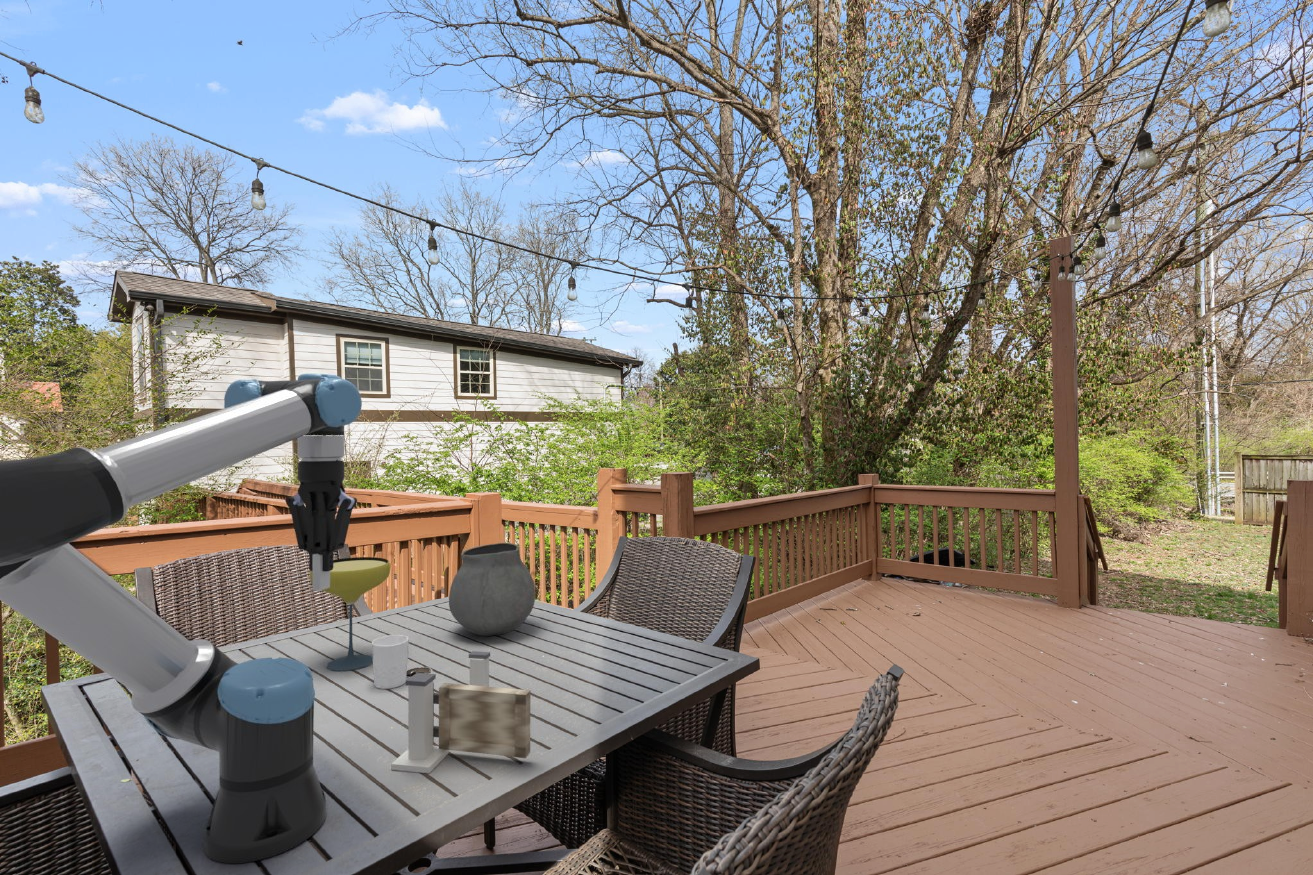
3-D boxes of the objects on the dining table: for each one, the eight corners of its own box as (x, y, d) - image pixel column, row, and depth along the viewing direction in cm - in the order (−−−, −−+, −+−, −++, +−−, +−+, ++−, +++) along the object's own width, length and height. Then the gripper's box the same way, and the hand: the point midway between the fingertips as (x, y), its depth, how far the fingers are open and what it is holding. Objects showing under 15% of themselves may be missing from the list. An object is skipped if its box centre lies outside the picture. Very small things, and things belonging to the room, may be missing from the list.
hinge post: (429, 773, 106) (429, 686, 106) (391, 769, 107) (391, 683, 107) (449, 752, 113) (449, 671, 113) (413, 749, 114) (413, 668, 114)
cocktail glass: (315, 655, 162) (315, 559, 162) (391, 647, 169) (391, 554, 169) (303, 681, 146) (303, 574, 145) (388, 671, 152) (388, 568, 152)
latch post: (486, 710, 130) (486, 659, 130) (459, 708, 131) (459, 657, 131) (498, 698, 136) (498, 649, 136) (472, 696, 137) (472, 647, 137)
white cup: (395, 691, 140) (395, 647, 140) (364, 688, 142) (364, 644, 142) (415, 678, 148) (415, 636, 148) (385, 675, 149) (385, 633, 149)
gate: (421, 746, 112) (421, 685, 112) (428, 741, 114) (428, 681, 114) (525, 758, 109) (525, 694, 109) (530, 752, 111) (530, 690, 110)
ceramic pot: (449, 623, 190) (449, 541, 190) (530, 617, 197) (530, 537, 197) (448, 650, 167) (448, 556, 167) (540, 641, 174) (540, 551, 174)
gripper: (366, 459, 117) (366, 585, 117) (303, 458, 119) (303, 582, 119) (340, 460, 109) (340, 595, 109) (273, 460, 111) (273, 592, 111)
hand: (321, 588), depth 114 cm, fingers closed
